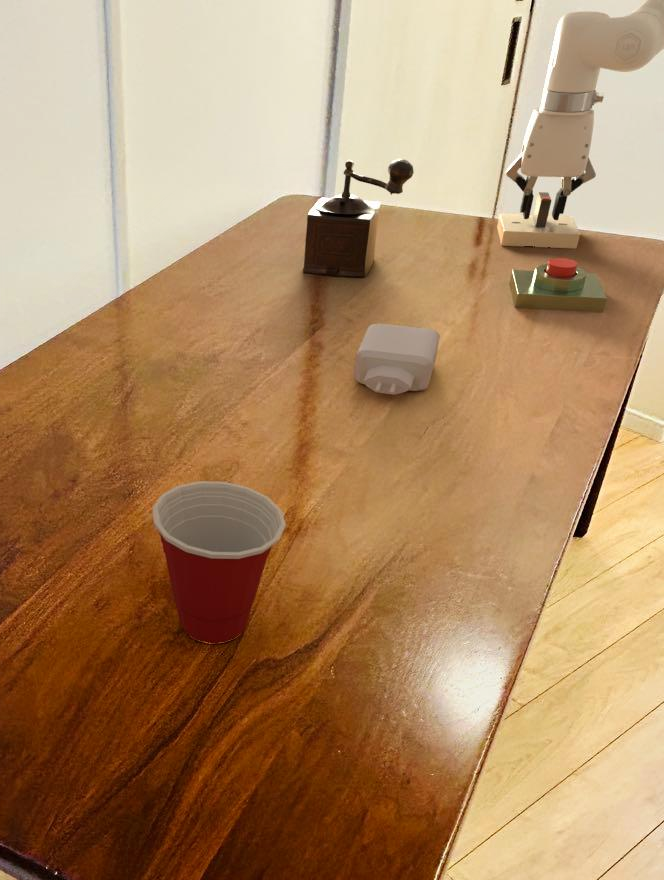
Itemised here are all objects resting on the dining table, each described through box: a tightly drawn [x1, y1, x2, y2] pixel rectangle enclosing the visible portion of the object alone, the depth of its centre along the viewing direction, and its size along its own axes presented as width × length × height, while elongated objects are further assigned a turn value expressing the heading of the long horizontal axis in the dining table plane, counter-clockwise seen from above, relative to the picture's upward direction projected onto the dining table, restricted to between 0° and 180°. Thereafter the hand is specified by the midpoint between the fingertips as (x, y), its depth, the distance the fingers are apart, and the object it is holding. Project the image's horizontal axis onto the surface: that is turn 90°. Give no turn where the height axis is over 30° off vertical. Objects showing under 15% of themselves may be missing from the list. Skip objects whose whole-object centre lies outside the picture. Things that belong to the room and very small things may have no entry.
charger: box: [353, 322, 441, 396], centre depth 114 cm, size 5×9×15 cm
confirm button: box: [546, 257, 579, 277], centre depth 133 cm, size 4×4×2 cm
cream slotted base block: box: [496, 213, 581, 250], centre depth 157 cm, size 12×10×3 cm
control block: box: [508, 263, 608, 314], centre depth 135 cm, size 12×10×4 cm
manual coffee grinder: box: [302, 158, 415, 278], centre depth 144 cm, size 16×11×18 cm
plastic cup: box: [152, 480, 287, 643], centre depth 76 cm, size 11×11×12 cm
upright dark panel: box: [532, 191, 552, 227], centre depth 155 cm, size 5×2×5 cm, turn 165°
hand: (540, 216), depth 155 cm, fingers open, 4 cm apart
